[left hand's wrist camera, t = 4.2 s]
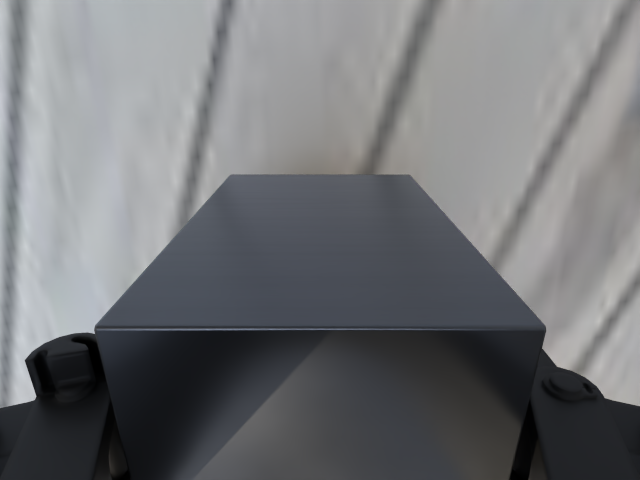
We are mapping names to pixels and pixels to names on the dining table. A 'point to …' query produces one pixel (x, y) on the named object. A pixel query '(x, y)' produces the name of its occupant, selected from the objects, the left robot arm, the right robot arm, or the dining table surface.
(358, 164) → the dining table surface
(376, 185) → the bar
